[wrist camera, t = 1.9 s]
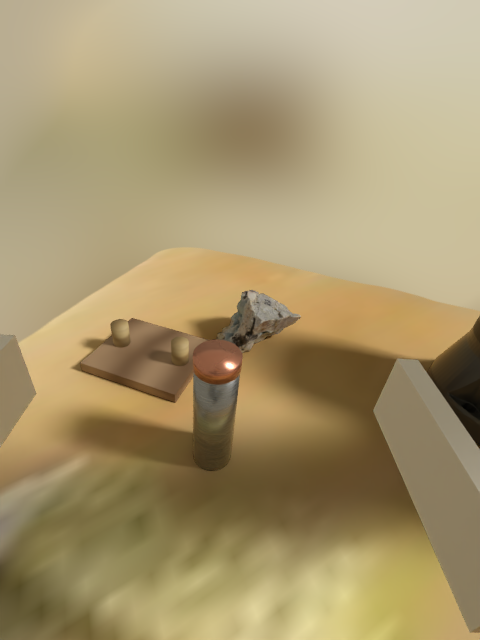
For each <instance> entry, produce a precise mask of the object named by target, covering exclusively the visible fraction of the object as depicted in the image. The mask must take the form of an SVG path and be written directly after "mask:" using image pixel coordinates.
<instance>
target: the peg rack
mask: <svg viewBox="0 0 480 640" xmlns="http://www.w3.org/2000/svg"><path fill="white" fill-rule="evenodd" d="M111 331H112V336H111V337H109V338H108V339H107V340H106V341H105V342H104V343H102V344H101V345H100V346H99V347H98V348H97V349H95V350H94V351H93V352H92V353H91V354H90V355H89V356H87V357H86V358H85V359H84V360H83V361H82V362H80V364H81V368H82V371H85V372H88V373H91V374H93V375H96V376H99V377H102V378H105V379H108V380H111V381H114V382H117V383H120V384H123V385H126V386H129V387H131V388H134V389H137V390H140V391H143V392H146V393H149V394H152V395H155V396H158V397H161V398H164V399H166V400H169V401H172V402H176V401H177V399H178V398H179V396H180V395H181V393H182V392H183V391H184V389H185V388H186V386H187V385H188V383H189V382H190V380H191V379H192V377H193V376H194V371H193V352H194V349H195V348H196V347H197V346H198V345H199V344H201V343H203V342H205V341H208V340H207V339H203V338H200V337H196V336H193V335H189V334H186V333H182V332H179V331H175V330H172V329H169V328H165V327H162V326H158V325H155V324H151V323H148V322H144V321H141V320H137V319H134V318H131V319H130V320H129V321H126V320H123V319H119V320H115V321H113V322H112V323H111Z"/></svg>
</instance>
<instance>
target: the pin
mask: <svg viewBox="0 0 480 640" xmlns="http://www.w3.org/2000/svg"><path fill="white" fill-rule="evenodd" d="M241 366H242V352H241V350H240V349H239V347H237V346H236V345H235V344H233V343H231V342H229V341H225V340H218V339H217V340H208V341H205V342H203V343H201V344H199V345H198V346H197V347H196V348H195V349H194V352H193V371H194V385H193V457H194V460H195V462H196V463H197V465H198V466H200V467H201V468H203V469H205V470H211V471H213V470H218V469H221V468H223V467H224V466H225V465H226V464H227V463H228V462H229V460H230V457H231V449H232V440H233V431H234V422H235V413H236V404H237V395H238V387H239V378H240V372H241Z"/></svg>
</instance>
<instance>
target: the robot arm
mask: <svg viewBox="0 0 480 640" xmlns="http://www.w3.org/2000/svg"><path fill="white" fill-rule="evenodd" d="M35 395H36V391H35V388H34V386H33V383H32V380H31V378H30V375H29V372H28V369H27V367H26V364H25V361H24V358H23V356H22V353H21V350H20V348H19V345H18V342H17V340H16V337H15V335H0V447H1V446H2V444H3V443H4V441H5V440H6V438H7V437H8V435H9V434H10V432H11V431H12V429H13V428H14V426H15V425H16V423H17V422H18V420H19V419H20V417H21V416H22V414H23V413H24V411H25V410H26V408H27V407H28V405H29V404H30V402H31V401H32V399H33V398H34V396H35ZM373 412H374V414H375V416H376V419H377V421H378V423H379V426H380V428H381V430H382V432H383V435H384V437H385V439H386V442H387V444H388V446H389V448H390V451H391V453H392V455H393V458H394V460H395V462H396V464H397V467H398V469H399V471H400V474H401V476H402V478H403V480H404V483H405V485H406V487H407V490H408V492H409V494H410V497H411V499H412V501H413V503H414V506H415V508H416V510H417V513H418V515H419V517H420V519H421V522H422V524H423V526H424V529H425V531H426V533H427V535H428V538H429V540H430V542H431V545H432V547H433V549H434V551H435V554H436V556H437V558H438V561H439V563H440V565H441V567H442V570H443V572H444V574H445V577H446V579H447V581H448V583H449V586H450V588H451V590H452V593H453V595H454V597H455V599H456V602H457V604H458V606H459V609H460V611H461V613H462V616H463V618H464V620H465V622H466V625H467V627H468V629H469V632H477V633H480V449H479V447H478V446H477V445H476V443H478V444H479V445H480V316H479V318H478V320H477V321H476V323H475V325H474V326H473V328H472V329H471V330H470V331H469V332H468V333H467V334H466V335H464V336H463V337H462V338H461V339H459V340H458V341H457V342H456V343H454V344H453V345H452V346H451V347H449V348H448V349H447V350H446V351H444V352H443V353H442V354H441V355H439V356H438V357H437V358H436V359H435V360H434V362H433V363H432V365H431V367H430V369H429V371H428V372H426V371H425V369H424V368H423V366H422V365H421V364H420V362H419V361H418V360H411V359H397V360H396V362H395V364H394V367H393V369H392V371H391V373H390V375H389V377H388V379H387V382H386V384H385V386H384V388H383V390H382V392H381V395H380V397H379V399H378V401H377V403H376V405H375V407H374V410H373ZM475 442H476V443H475Z"/></svg>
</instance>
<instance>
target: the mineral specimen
mask: <svg viewBox="0 0 480 640" xmlns="http://www.w3.org/2000/svg"><path fill="white" fill-rule="evenodd" d="M237 309H238V312H237V313H235V314H234V315H233V316H232V317H231V324H230V325H229V326H228V327H225V328H223V330H222V332H220V333H218V334H217V338H216V340H217V339H218V340H225V341H229V342H231V343H233V344H235V345H236V346H237V347H239V349H240V350H241V352H242V353H243V352H245V351H248V352H249V351H250V350H251V348H252V346H253V344H254V343H258V342H259V341H261V340H264V339H265V338H266V337H267V336H272V335H274V334H278V333H280V332H281V331H282V330H283V329H284V328H285V327H288V326H290V325H292V324H294V323H295V322H296V321H297V320H299V319H300V318H301V316H300V315H298V314H292V313H291V312H290V311H289V310H288V309H287V307H286V306H285V305H283V304H281V303H279V302H278V301H276V300H274V299H272V298H271V297H269V296H267V295H265V294H261V293H260V294H259V293H258V292H256V291H253V290H249V291H245V292H242V296H241V300H240V302H239V303H238V305H237Z"/></svg>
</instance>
